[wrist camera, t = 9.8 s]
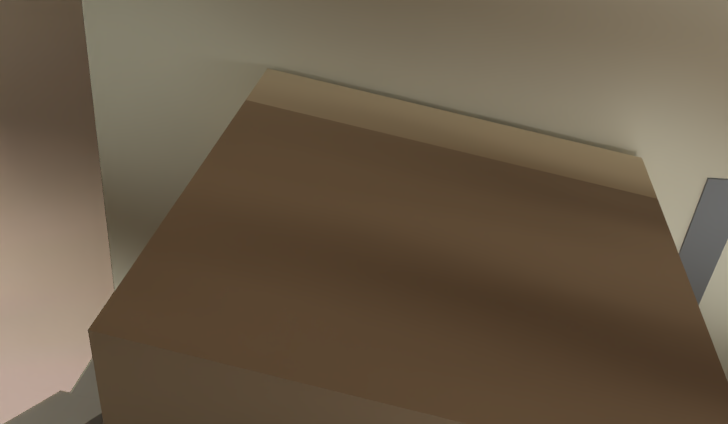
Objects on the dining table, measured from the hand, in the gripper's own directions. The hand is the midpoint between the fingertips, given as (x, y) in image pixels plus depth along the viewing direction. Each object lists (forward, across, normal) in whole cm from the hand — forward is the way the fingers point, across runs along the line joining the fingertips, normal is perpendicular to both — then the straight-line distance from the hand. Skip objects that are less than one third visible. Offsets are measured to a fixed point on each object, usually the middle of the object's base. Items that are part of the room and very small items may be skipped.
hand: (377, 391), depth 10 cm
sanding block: (+2, 0, 0) cm, 2 cm away
